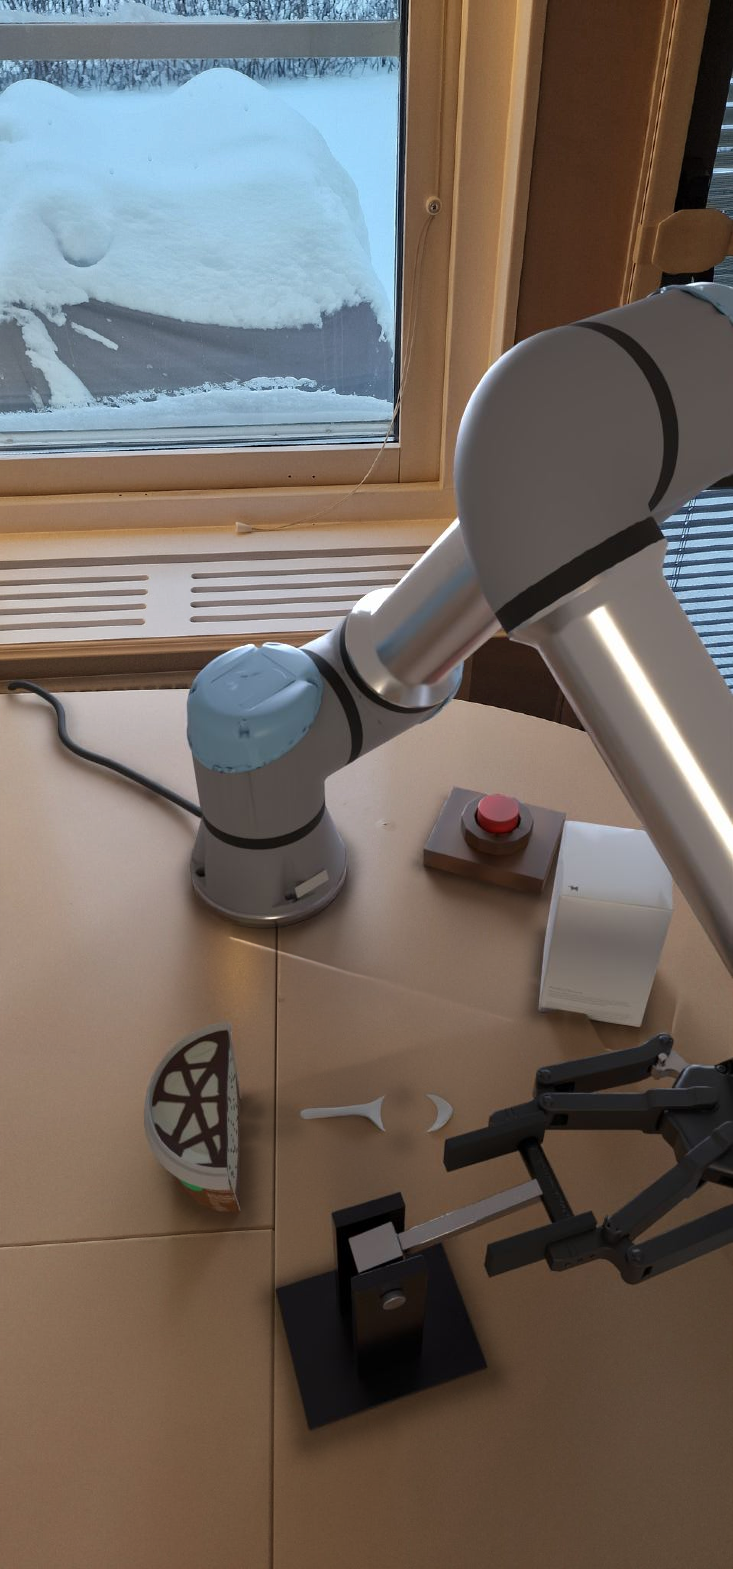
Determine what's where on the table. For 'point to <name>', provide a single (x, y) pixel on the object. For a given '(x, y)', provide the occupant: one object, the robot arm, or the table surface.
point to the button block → (495, 843)
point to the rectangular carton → (605, 923)
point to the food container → (198, 1116)
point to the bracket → (375, 1324)
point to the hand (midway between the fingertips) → (467, 1206)
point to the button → (498, 814)
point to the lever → (466, 1215)
